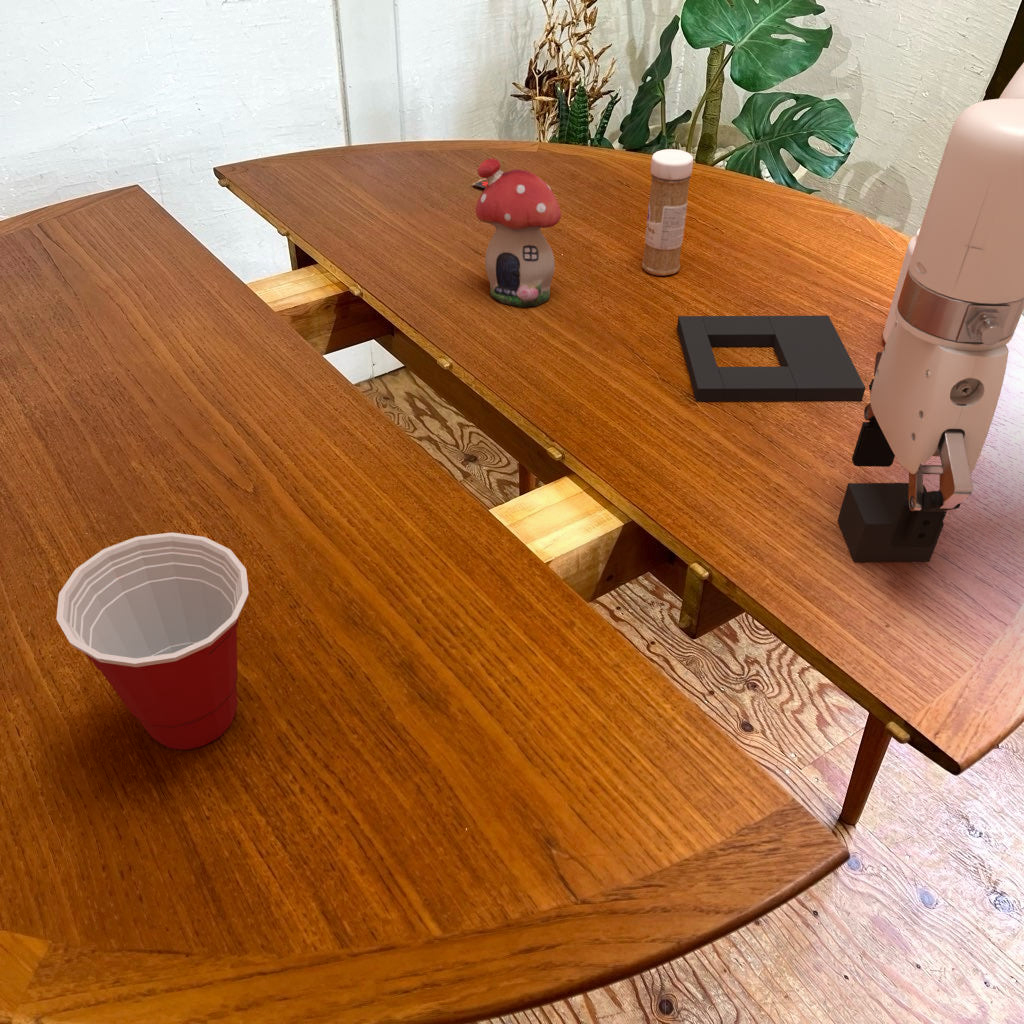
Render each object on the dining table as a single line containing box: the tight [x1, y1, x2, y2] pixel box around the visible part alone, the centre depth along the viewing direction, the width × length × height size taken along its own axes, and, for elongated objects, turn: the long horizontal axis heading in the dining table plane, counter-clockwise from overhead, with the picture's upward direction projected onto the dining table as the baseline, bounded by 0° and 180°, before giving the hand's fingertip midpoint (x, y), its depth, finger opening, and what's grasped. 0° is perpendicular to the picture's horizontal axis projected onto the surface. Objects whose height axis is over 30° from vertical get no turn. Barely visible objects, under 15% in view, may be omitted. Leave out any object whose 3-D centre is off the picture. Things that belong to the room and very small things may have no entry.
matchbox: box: [470, 178, 488, 189], centre depth 132 cm, size 5×5×1 cm
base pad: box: [676, 315, 866, 402], centre depth 97 cm, size 16×14×2 cm
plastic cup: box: [56, 532, 250, 751], centre depth 60 cm, size 11×11×12 cm
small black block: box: [837, 482, 945, 563], centre depth 76 cm, size 6×5×4 cm
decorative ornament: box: [475, 157, 562, 308], centre depth 104 cm, size 9×7×15 cm
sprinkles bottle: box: [641, 148, 694, 277], centre depth 109 cm, size 5×5×13 cm
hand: (889, 502), depth 74 cm, fingers open, 9 cm apart
